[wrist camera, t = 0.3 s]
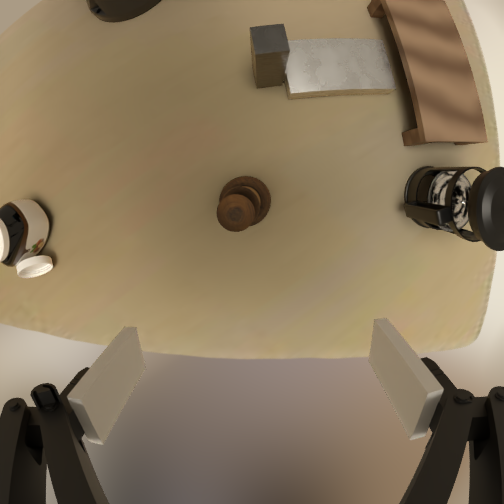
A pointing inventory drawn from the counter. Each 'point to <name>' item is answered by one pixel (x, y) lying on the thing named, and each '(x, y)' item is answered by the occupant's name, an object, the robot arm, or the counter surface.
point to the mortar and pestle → (243, 203)
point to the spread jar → (24, 237)
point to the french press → (460, 203)
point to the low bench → (434, 72)
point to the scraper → (319, 64)
